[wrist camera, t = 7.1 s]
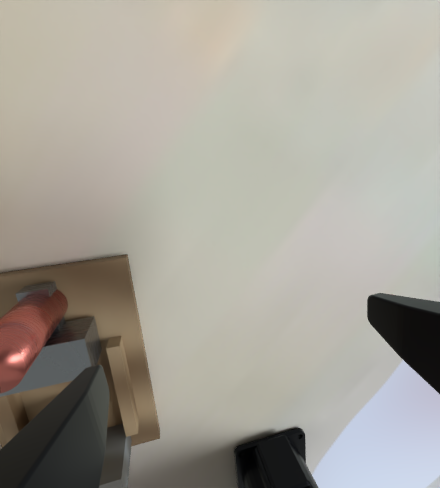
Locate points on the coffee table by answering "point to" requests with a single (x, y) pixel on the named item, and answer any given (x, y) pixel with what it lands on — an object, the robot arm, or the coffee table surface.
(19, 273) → the beige mounting plate
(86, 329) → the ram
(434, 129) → the coffee table surface
